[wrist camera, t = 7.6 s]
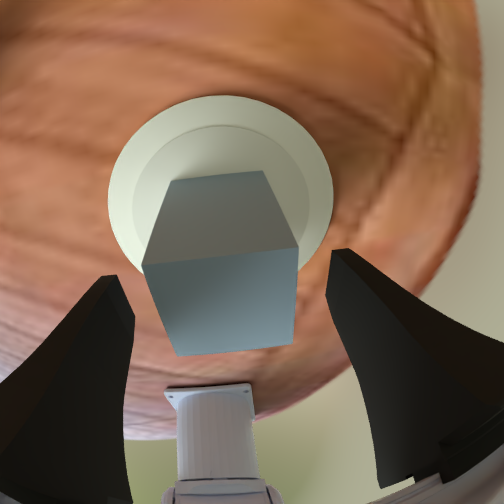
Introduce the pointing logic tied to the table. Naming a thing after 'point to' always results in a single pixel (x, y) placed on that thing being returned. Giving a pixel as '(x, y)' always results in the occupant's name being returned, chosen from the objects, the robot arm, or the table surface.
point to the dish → (220, 166)
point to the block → (223, 265)
